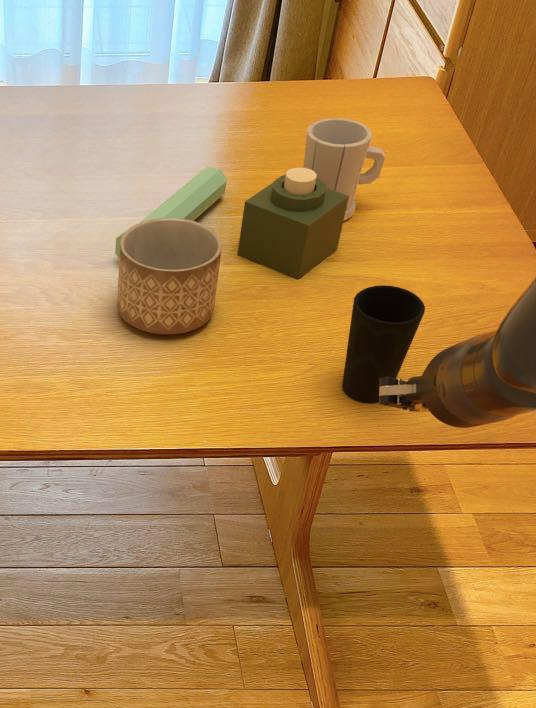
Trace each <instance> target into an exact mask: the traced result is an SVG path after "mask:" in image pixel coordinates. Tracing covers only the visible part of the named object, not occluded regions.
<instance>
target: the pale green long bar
mask: <svg viewBox="0 0 536 708" xmlns="http://www.w3.org/2000/svg"><path fill="white" fill-rule="evenodd" d="M227 180H228V179H227V177H226V175H225V173H224V172H223V170H222V169H219V168H215V167H211V166H210V167H209V166H208V167H206V168H205V169H203V170H201V171H200V172H199V173H197V174H196V175H195V176H194V177H193V178H192V179H190V180H189V181H188V182H187V183H186V184H184V185H183V186H182V187H180V188H179V190H177V191H176V192H175V193H174V194H172V195H171V196H170V197H169V198H168V199H166V200H165V201H163V203H161V204H160V205H159V206H158V207H157V208H156V209H155V210H153V211H152V212H150V214H149V215H146V217H145V218H144V219H143V220H141V221H140V222H139V223H141V222H144V221H147V220H152V219H158V218H180V219H187V220H191V221H196V219H197V218H199V217H200V216H201V215H202V214H203V213H204V212H205V211H206V210H208V209H209V208H210V207H211V206H213V204H214V203H216V202H217V201H218V200H219V199H220V198H221V197H222V196H223V195H225V193H226V189H227ZM126 231H127V230H125V231H124V232H122V233H121V234H120V235H118V236H117V237H116V238H115V248H114V249H115V250H114V251H115V252H114V254H115V255H116V257H117V258H118V259H119V257H120V240H121V238H122V236H123V234H124V233H125V232H126Z"/></svg>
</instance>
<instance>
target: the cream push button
mask: <svg viewBox="0 0 536 708" xmlns="http://www.w3.org/2000/svg"><path fill="white" fill-rule="evenodd" d="M285 174H286V176H285V182H284V190H285V191H286V192H289V193H291V194H295V195H306V194H311V193H313V191H314V187H315V182H316V177H317V175H316V173H315V172H314V171H313V170H310V169H307V168H303V167H293V168H290V169H288V170H287V171H286V172H285Z"/></svg>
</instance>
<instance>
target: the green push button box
mask: <svg viewBox="0 0 536 708" xmlns="http://www.w3.org/2000/svg"><path fill="white" fill-rule="evenodd" d="M285 176H286V173H285V174H283V175H280V176H278V178H276V179H275V180H273V182H271V183H270V184H269V185H267V186H266V187H264V188H263V189H261V190H260V191H258V192H257V193H255V194H253V195H252V196H250V197H249V198H248V199H246V200H245V201H244V204H243V205H244V206H243V212H242V220H241V226H240V234H239V241H238V248H237V256H239V257H242V258H244V259H247V260H250V261H252V262H255V263H257V264H259V265H262V266H263V267H266V268H269V269H271V270H274V271H276V272H278V273H282V274H283V275H286V276H288V277H291V278H293V279H296V280H300V279H301V278H302V277H304V276H305V275H306V274H307V273H309V272H310V271H312V270H313V269H314V268H315V267H317V266H318V265H319V264H321V263H322V262H323V261H324V260H326V259H327V258H329V256H331V255H332V254H333V253H335V252H336V251H337V250H338V247H339V243H340V239H341V233H342V229H343V226H344V225H343V224H344V222H345V221H344V216H345V212H346V207H347V203H348V198H349V196H347V195H344V194H341V193H339V192H336V191H333V190H330V189H327V188H326V185H325V184H324V183H323V182H322V181H321V180H320V179H318V178H316V182H315V187H314V191H313V193H311V194H306V195H295V194H291V193H289V192H286V191H285V190H284V182H285Z"/></svg>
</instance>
